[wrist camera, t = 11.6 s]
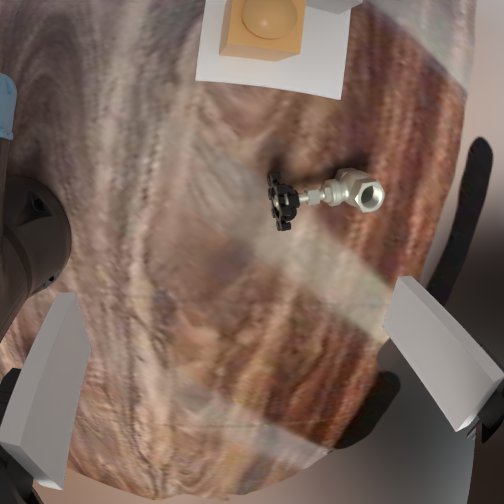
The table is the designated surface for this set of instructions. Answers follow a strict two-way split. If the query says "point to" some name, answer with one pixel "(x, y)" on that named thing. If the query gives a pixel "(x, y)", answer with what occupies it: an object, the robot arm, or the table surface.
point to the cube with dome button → (333, 5)
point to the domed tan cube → (262, 29)
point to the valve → (325, 194)
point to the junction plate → (286, 70)
